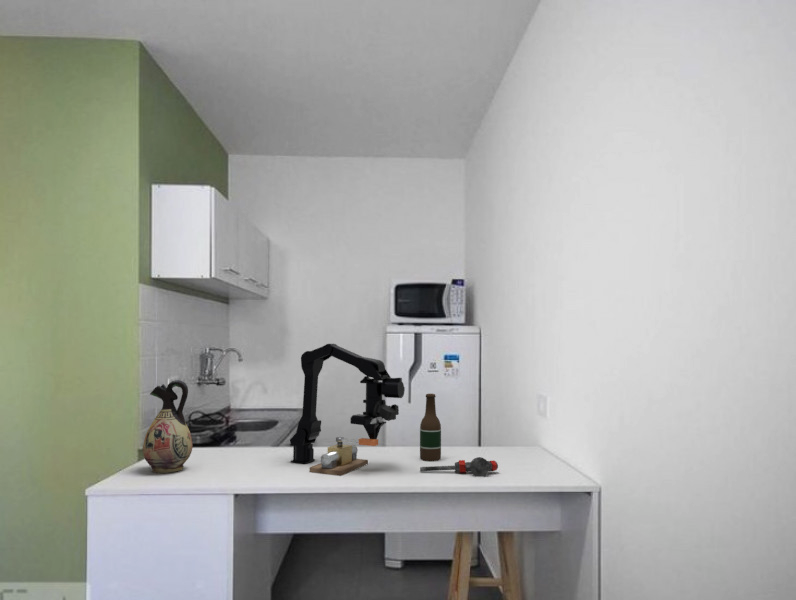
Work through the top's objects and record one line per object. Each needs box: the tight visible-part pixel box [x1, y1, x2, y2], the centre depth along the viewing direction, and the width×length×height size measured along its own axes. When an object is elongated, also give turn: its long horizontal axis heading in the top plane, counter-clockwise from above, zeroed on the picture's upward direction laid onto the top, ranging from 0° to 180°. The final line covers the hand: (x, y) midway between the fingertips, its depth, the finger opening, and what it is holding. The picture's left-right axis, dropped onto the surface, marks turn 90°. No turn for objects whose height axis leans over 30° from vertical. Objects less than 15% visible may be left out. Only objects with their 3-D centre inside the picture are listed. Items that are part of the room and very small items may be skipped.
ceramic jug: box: [142, 379, 193, 474], centre depth 187 cm, size 17×15×30 cm
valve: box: [419, 456, 499, 478], centre depth 188 cm, size 6×26×15 cm
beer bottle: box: [419, 393, 442, 462], centre depth 207 cm, size 8×8×24 cm
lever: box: [335, 436, 379, 447], centre depth 189 cm, size 15×3×2 cm, turn 66°
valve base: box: [309, 442, 369, 476], centre depth 191 cm, size 12×19×9 cm, turn 156°
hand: (373, 443), depth 190 cm, fingers closed
